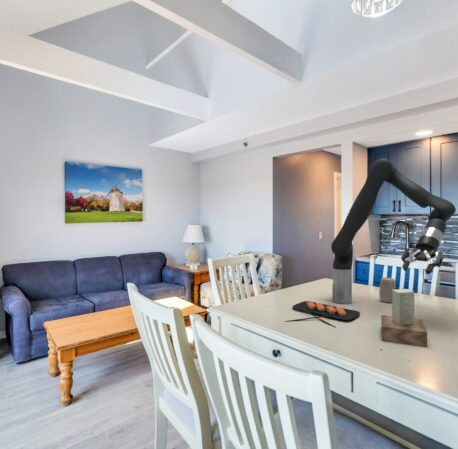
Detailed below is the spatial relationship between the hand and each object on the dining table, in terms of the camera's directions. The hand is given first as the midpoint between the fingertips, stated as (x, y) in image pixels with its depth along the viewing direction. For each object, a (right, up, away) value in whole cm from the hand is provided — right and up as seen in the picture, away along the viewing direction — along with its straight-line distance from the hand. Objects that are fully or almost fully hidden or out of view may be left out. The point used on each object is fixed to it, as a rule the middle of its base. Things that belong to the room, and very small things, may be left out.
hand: (415, 271), depth 125 cm
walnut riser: (-9, -23, -8) cm, 26 cm away
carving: (+7, -21, +36) cm, 43 cm away
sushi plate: (-35, -23, +16) cm, 45 cm away
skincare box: (-9, -18, -8) cm, 22 cm away
